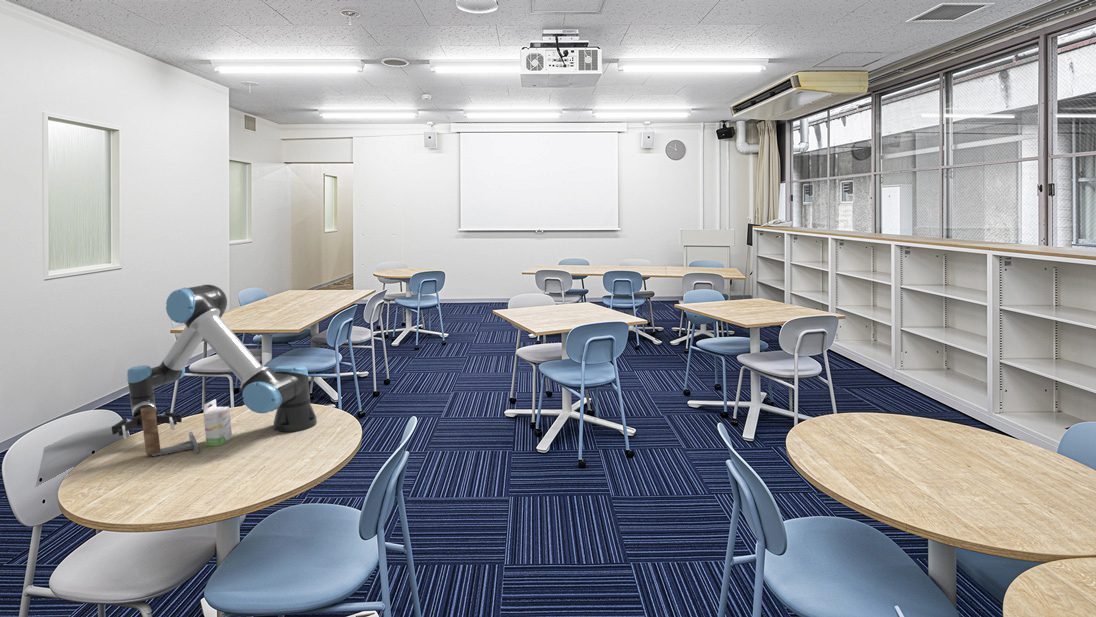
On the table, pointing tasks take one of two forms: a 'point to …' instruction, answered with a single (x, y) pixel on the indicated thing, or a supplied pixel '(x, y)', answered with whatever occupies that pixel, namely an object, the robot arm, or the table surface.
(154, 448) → the wooden post on rail
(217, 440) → the ink box
